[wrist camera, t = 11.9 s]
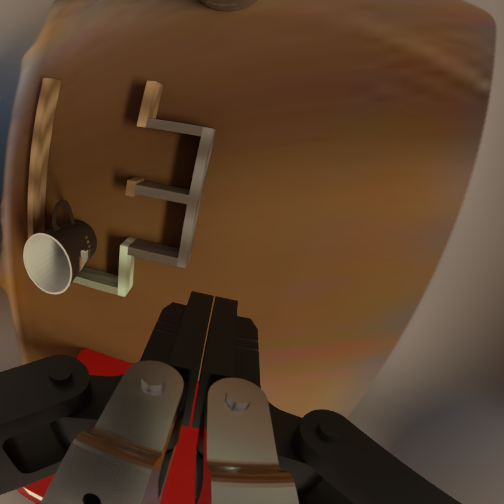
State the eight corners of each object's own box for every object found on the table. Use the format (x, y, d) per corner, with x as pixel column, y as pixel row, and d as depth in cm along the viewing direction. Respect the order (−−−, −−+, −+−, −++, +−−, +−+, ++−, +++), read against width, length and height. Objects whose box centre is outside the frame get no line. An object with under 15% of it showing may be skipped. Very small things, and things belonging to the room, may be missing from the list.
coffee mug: (87, 275, 44) (58, 305, 35) (51, 242, 42) (16, 265, 33) (122, 223, 42) (92, 246, 32) (82, 186, 39) (45, 200, 30)
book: (216, 385, 53) (201, 547, 23) (208, 410, 55) (193, 554, 26) (80, 345, 50) (4, 476, 20) (83, 373, 53) (22, 495, 23)
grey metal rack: (56, 80, 33) (43, 78, 30) (224, 95, 36) (222, 91, 32) (40, 260, 43) (29, 268, 40) (183, 298, 46) (179, 310, 43)
